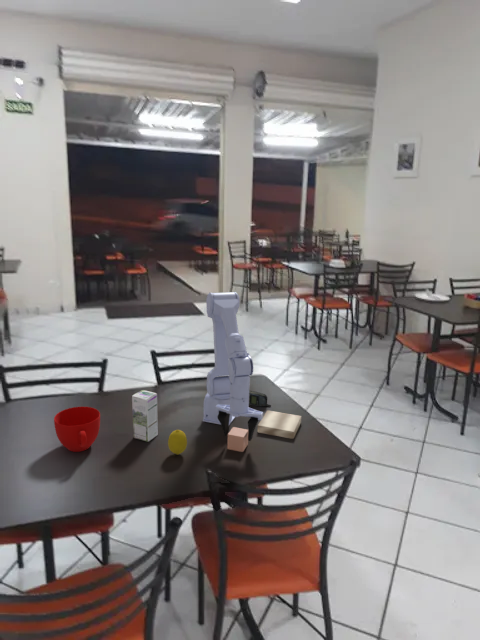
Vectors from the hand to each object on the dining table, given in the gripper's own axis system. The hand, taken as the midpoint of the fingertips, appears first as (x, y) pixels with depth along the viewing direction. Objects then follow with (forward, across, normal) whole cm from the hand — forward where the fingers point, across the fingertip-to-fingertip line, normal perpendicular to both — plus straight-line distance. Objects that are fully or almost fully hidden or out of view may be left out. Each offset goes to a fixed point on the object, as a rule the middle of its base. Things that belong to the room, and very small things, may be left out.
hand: (238, 437), depth 145 cm
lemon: (+3, -15, -11) cm, 19 cm away
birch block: (+4, +9, +17) cm, 20 cm away
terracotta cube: (+3, 0, 0) cm, 3 cm away
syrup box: (+3, -29, -5) cm, 30 cm away
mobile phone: (+3, -6, +32) cm, 32 cm away
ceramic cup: (+3, -43, -19) cm, 47 cm away
